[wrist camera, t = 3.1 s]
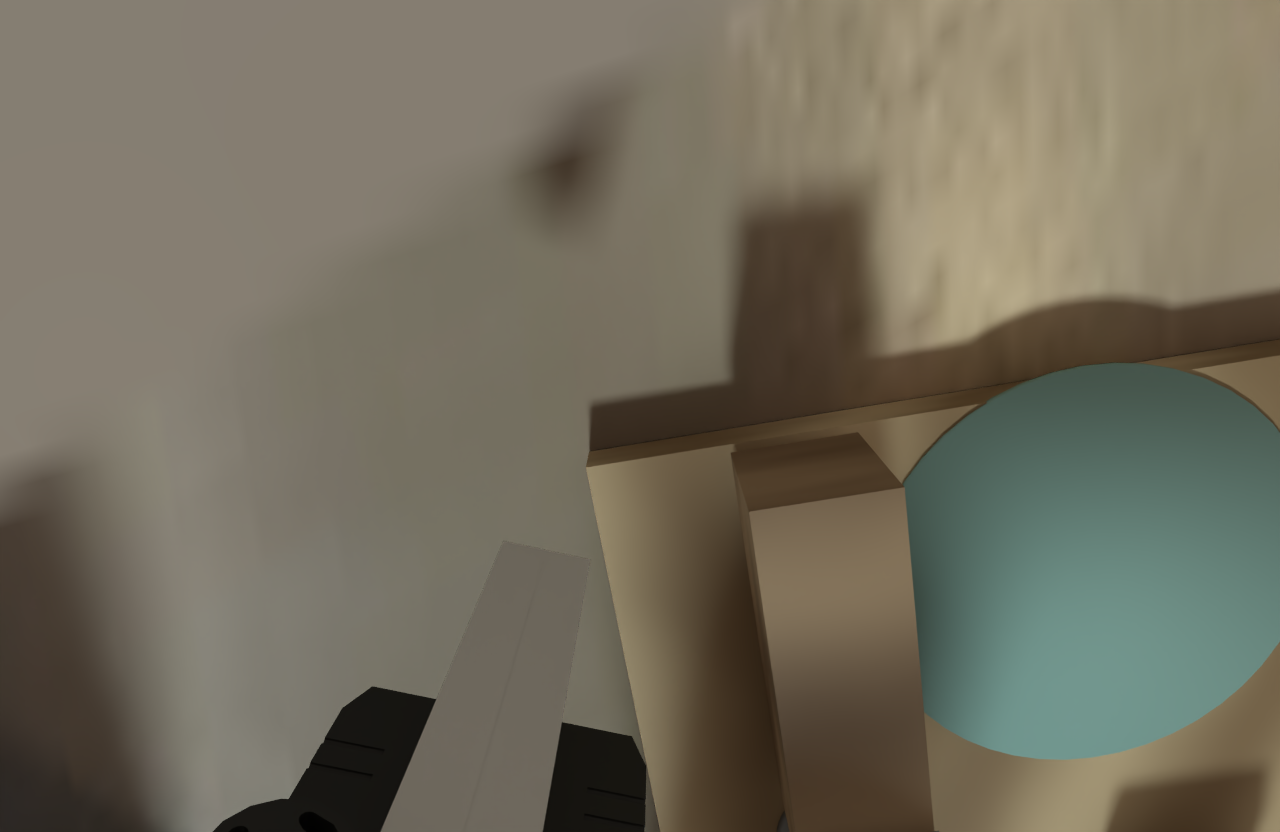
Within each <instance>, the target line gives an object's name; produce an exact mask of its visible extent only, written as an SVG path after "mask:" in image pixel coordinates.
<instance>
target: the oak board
mask: <svg viewBox="0 0 1280 832" xmlns="http://www.w3.org/2000/svg"><path fill="white" fill-rule="evenodd" d="M1137 363H1144V364H1150V365H1156V366H1162V367H1169V368H1174V369H1177V370H1180V371H1183V372H1186V373H1190V374H1193V375H1196V376H1200V377H1203V378H1206V379H1208V380H1210V381H1212V382H1214V383H1216V384H1218V385H1220V386H1223V387H1225V388H1227V389H1229V390H1231V391H1233V392H1234V393H1236V394H1237V395H1238V396H1240V397H1241V398H1243V399H1244V400H1246V401H1247V402H1249V403H1250V404H1252V405H1253V406H1255V407H1256V408H1257V409H1258V410H1259V411H1260V412H1261V413H1262V414H1263V415H1264V416H1265V417H1266V418H1267V419H1268V420H1269V421H1271V422H1272V423H1273V424H1274V426H1275V427H1276V428H1277V430H1278V431H1279V432H1280V339H1278V340H1272V341H1266V342H1260V343H1254V344H1248V345H1241V346H1235V347H1229V348H1223V349H1217V350H1211V351H1205V352H1198V353H1192V354H1186V355H1180V356H1174V357H1168V358H1162V359H1155V360H1149V361H1143V362H1137ZM1026 381H1029V380H1026ZM1026 381H1020V382H1014V383H1008V384H1002V385H996V386H990V387H983V388H977V389H971V390H965V391H959V392H953V393H947V394H940V395H934V396H928V397H922V398H916V399H910V400H904V401H897V402H891V403H885V404H879V405H873V406H867V407H861V408H854V409H848V410H842V411H836V412H830V413H824V414H818V415H811V416H805V417H799V418H793V419H787V420H781V421H775V422H768V423H762V424H756V425H750V426H744V427H738V428H732V429H725V430H719V431H713V432H707V433H701V434H695V435H689V436H682V437H676V438H670V439H664V440H658V441H652V442H645V443H639V444H633V445H627V446H621V447H615V448H609V449H602V450H596V451H590V452H589V455H588V460H587V465H586V470H587V475H588V480H589V485H590V490H591V494H592V499H593V504H594V509H595V514H596V519H597V524H598V529H599V534H600V539H601V543H602V548H603V553H604V558H605V563H606V568H607V573H608V578H609V583H610V588H611V592H612V597H613V602H614V607H615V612H616V617H617V622H618V627H619V632H620V637H621V641H622V646H623V651H624V656H625V661H626V666H627V671H628V676H629V681H630V686H631V690H632V695H633V700H634V705H635V710H636V715H637V720H638V725H639V730H640V735H641V739H642V744H643V749H644V754H645V759H646V764H647V769H648V774H649V779H650V784H651V788H652V793H653V798H654V803H655V808H656V813H657V818H658V823H659V828H660V832H789V827H788V823H787V818H786V814H785V809H784V805H783V800H782V794H781V788H780V781H779V774H778V767H777V761H776V754H775V747H774V741H773V734H772V727H771V721H770V714H769V707H768V701H767V694H766V687H765V681H764V674H763V667H762V661H761V654H760V647H759V641H758V634H757V627H756V620H755V614H754V607H753V600H752V594H751V587H750V580H749V574H748V567H747V560H746V554H745V547H744V540H743V534H742V527H741V520H740V514H739V507H738V500H737V493H736V487H735V480H734V473H733V467H732V460H731V453H732V452H738V451H744V450H750V449H757V448H763V447H769V446H775V445H781V444H788V443H794V442H800V441H806V440H812V439H819V438H825V437H831V436H837V435H843V434H850V433H856V432H858V433H859V434H860V435H861V436H862V437H863V439H864V440H865V441H866V442H867V443H868V445H869V446H870V447H871V448H872V449H873V450H874V452H875V453H876V454H877V455H878V456H879V458H880V459H881V460H882V461H883V462H884V464H885V465H886V466H887V467H888V468H889V469H890V471H891V472H892V473H893V474H894V475H895V477H896V478H897V479H898V480H899V481H900V482H901V484H903V483H904V481H905V479H906V478H907V477H908V475H909V474H910V473H911V471H912V470H913V469H914V468H915V466H916V465H917V464H918V462H919V461H920V460H921V458H922V457H923V456H924V455H925V454H926V453H927V452H928V451H929V450H930V449H931V448H932V447H933V445H934V444H935V443H936V442H937V441H938V440H939V439H940V438H941V437H942V436H943V435H944V434H945V433H947V432H948V431H949V430H950V429H952V428H953V427H954V426H955V425H956V424H958V423H959V422H960V421H961V420H963V419H964V418H965V417H966V416H967V415H969V414H970V413H972V412H974V411H975V410H977V409H978V408H980V407H981V406H983V405H984V404H986V403H987V402H986V401H987V400H989V399H990V398H992V397H994V396H996V395H998V394H1000V393H1002V392H1004V391H1006V390H1008V389H1010V388H1012V387H1014V386H1016V385H1018V384H1020V383H1023V382H1026ZM924 718H925V729H926V741H927V753H928V764H929V776H930V787H931V799H932V810H933V822H934V831H939V832H1280V642H1279V643H1278V645H1277V646H1276V647H1275V649H1274V650H1273V651H1272V653H1271V654H1270V655H1269V657H1268V658H1267V659H1266V660H1265V662H1264V663H1263V664H1262V666H1261V667H1260V668H1259V669H1258V670H1257V671H1256V672H1255V673H1254V674H1253V675H1252V676H1251V677H1250V678H1249V679H1248V680H1247V681H1246V682H1245V684H1244V685H1243V686H1242V687H1240V688H1239V689H1238V690H1237V691H1236V692H1234V693H1233V694H1232V695H1231V696H1230V697H1229V698H1227V699H1226V700H1225V701H1224V702H1223V703H1221V704H1220V705H1219V706H1217V707H1216V708H1214V709H1213V710H1211V711H1210V712H1208V713H1207V714H1205V715H1204V716H1203V717H1201V718H1200V719H1198V720H1197V721H1195V722H1193V723H1191V724H1189V725H1187V726H1185V727H1184V728H1182V729H1180V730H1178V731H1176V732H1174V733H1172V734H1170V735H1168V736H1165V737H1163V738H1160V739H1158V740H1156V741H1153V742H1151V743H1148V744H1146V745H1142V746H1139V747H1136V748H1132V749H1129V750H1126V751H1122V752H1119V753H1114V754H1108V755H1103V756H1098V757H1092V758H1080V759H1069V760H1057V759H1036V758H1028V757H1021V756H1014V755H1010V754H1006V753H1002V752H999V751H995V750H991V749H988V748H985V747H983V746H980V745H978V744H975V743H973V742H970V741H968V740H966V739H964V738H962V737H960V736H958V735H957V734H955V733H953V732H951V731H949V730H948V729H946V728H944V727H943V726H942V725H940V724H939V723H938V722H936V721H935V720H934V719H932V718H931V717H930V716H928V715H927V714H926V713H925V712H924Z"/></svg>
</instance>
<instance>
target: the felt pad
mask: <svg viewBox="0 0 1280 832" xmlns="http://www.w3.org/2000/svg"><path fill="white" fill-rule="evenodd" d="M986 402H987V403H986V404H984V405H983V406H981V407H980V408H978V409H977V410H975V411H974V412H972V413H970V414H969V415H967V416H966V417H965V418H964V419H963V420H961V421H960V422H959V423H958V424H956V425H955V426H954V427H953V428H952V429H950V430H949V431H948V432H947V433H945V434H944V435H943V436H942V437H941V438H940V439H939V440H938V441H937V442H936V443H935V444H934V445H933V447H932V448H931V449H930V450H929V451H928V452H927V453H926V454H925V455H924V456H923V457H922V458H921V460H920V461H919V462H918V464H917V465H916V466H915V468H914V469H913V470H912V471H911V473H910V474H909V475H908V477H907V478H906V479H905V481H904V483H903V484H902V485H903V486H904V487H905V498H906V509H907V521H908V532H909V544H910V556H911V567H912V579H913V590H914V602H915V614H916V625H917V637H918V648H919V660H920V671H921V683H922V695H923V706H924V712H925V713H926V714H927V715H928V716H930V717H931V718H932V719H934V720H935V721H936V722H938V723H939V724H940V725H942V726H943V727H944V728H946V729H948V730H949V731H951V732H953V733H955V734H957V735H958V736H960V737H962V738H964V739H966V740H968V741H970V742H973V743H975V744H978V745H980V746H983V747H985V748H988V749H991V750H995V751H999V752H1002V753H1006V754H1010V755H1014V756H1021V757H1028V758H1036V759H1057V760H1069V759H1080V758H1092V757H1098V756H1103V755H1108V754H1114V753H1119V752H1122V751H1126V750H1129V749H1132V748H1136V747H1139V746H1142V745H1146V744H1148V743H1151V742H1153V741H1156V740H1158V739H1160V738H1163V737H1165V736H1168V735H1170V734H1172V733H1174V732H1176V731H1178V730H1180V729H1182V728H1184V727H1185V726H1187V725H1189V724H1191V723H1193V722H1195V721H1197V720H1198V719H1200V718H1201V717H1203V716H1204V715H1205V714H1207V713H1208V712H1210V711H1211V710H1213V709H1214V708H1216V707H1217V706H1219V705H1220V704H1221V703H1223V702H1224V701H1225V700H1226V699H1227V698H1229V697H1230V696H1231V695H1232V694H1233V693H1234V692H1236V691H1237V690H1238V689H1239V688H1240V687H1242V686H1243V685H1244V684H1245V682H1246V681H1247V680H1248V679H1249V678H1250V677H1251V676H1252V675H1253V674H1254V673H1255V672H1256V671H1257V670H1258V669H1259V668H1260V667H1261V666H1262V664H1263V663H1264V662H1265V660H1266V659H1267V658H1268V657H1269V655H1270V654H1271V653H1272V651H1273V650H1274V649H1275V647H1276V646H1277V645H1278V643H1279V642H1280V432H1279V431H1278V430H1277V428H1276V427H1275V426H1274V424H1273V423H1272V422H1271V421H1269V420H1268V419H1267V418H1266V417H1265V416H1264V415H1263V414H1262V413H1261V412H1260V411H1259V410H1258V409H1257V408H1256V407H1255V406H1253V405H1252V404H1250V403H1249V402H1247V401H1246V400H1244V399H1243V398H1241V397H1240V396H1238V395H1237V394H1236V393H1234V392H1233V391H1231V390H1229V389H1227V388H1225V387H1223V386H1220V385H1218V384H1216V383H1214V382H1212V381H1210V380H1208V379H1206V378H1203V377H1200V376H1196V375H1193V374H1190V373H1186V372H1183V371H1180V370H1177V369H1174V368H1169V367H1162V366H1156V365H1150V364H1144V363H1104V364H1094V365H1084V366H1078V367H1074V368H1069V369H1065V370H1060V371H1056V372H1052V373H1048V374H1046V375H1043V376H1040V377H1037V378H1034V379H1031V380H1029V381H1026V382H1023V383H1020V384H1018V385H1016V386H1014V387H1012V388H1010V389H1008V390H1006V391H1004V392H1002V393H1000V394H998V395H996V396H994V397H992V398H990V399H989V400H987V401H986Z"/></svg>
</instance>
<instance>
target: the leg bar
mask: <svg viewBox="0 0 1280 832" xmlns="http://www.w3.org/2000/svg"><path fill="white" fill-rule="evenodd" d="M731 460H732V467H733V473H734V480H735V487H736V493H737V500H738V507H739V514H740V520H741V527H742V534H743V540H744V547H745V554H746V560H747V567H748V574H749V580H750V587H751V594H752V600H753V607H754V614H755V620H756V627H757V634H758V641H759V647H760V654H761V661H762V667H763V674H764V681H765V687H766V694H767V701H768V707H769V714H770V721H771V727H772V734H773V741H774V747H775V754H776V761H777V767H778V774H779V781H780V788H781V794H782V800H783V805H784V809H785V814H786V818H787V823H788V827H789V832H939V831H934V822H933V810H932V799H931V787H930V776H929V764H928V753H927V741H926V729H925V718H924V706H923V695H922V683H921V671H920V660H919V648H918V637H917V625H916V614H915V602H914V590H913V579H912V567H911V556H910V544H909V532H908V521H907V509H906V498H905V487H904V486H903V485H902V484H901V482H900V481H899V480H898V479H897V478H896V477H895V475H894V474H893V473H892V472H891V471H890V469H889V468H888V467H887V466H886V465H885V464H884V462H883V461H882V460H881V459H880V458H879V456H878V455H877V454H876V453H875V452H874V450H873V449H872V448H871V447H870V446H869V445H868V443H867V442H866V441H865V440H864V439H863V437H862V436H861V435H860V434H859V433H858V432H856V433H850V434H843V435H837V436H831V437H825V438H819V439H812V440H806V441H800V442H794V443H788V444H781V445H775V446H769V447H763V448H757V449H750V450H744V451H738V452H732V453H731Z"/></svg>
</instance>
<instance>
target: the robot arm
mask: <svg viewBox="0 0 1280 832" xmlns="http://www.w3.org/2000/svg"><path fill="white" fill-rule="evenodd" d="M589 564H590V559H587V558H582V557H578V556H573V555H568V554H564V553H559V552H554V551H549V550H545V549H540V548H535V547H531V546H526V545H521V544H517V543H512V542H507V541H503V542H502V545H501V547H500V550H499V552H498V554H497V557H496V559H495V561H494V564H493V566H492V568H491V571H490V573H489V576H488V578H487V580H486V583H485V585H484V587H483V590H482V592H481V595H480V597H479V599H478V602H477V604H476V606H475V609H474V611H473V614H472V616H471V618H470V621H469V623H468V625H467V628H466V630H465V633H464V635H463V637H462V640H461V642H460V644H459V647H458V649H457V652H456V654H455V656H454V659H453V661H452V663H451V666H450V668H449V671H448V673H447V675H446V678H445V680H444V682H443V685H442V687H441V690H440V692H439V694H438V697H437V699H432V698H427V697H422V696H417V695H412V694H407V693H402V692H397V691H393V690H388V689H383V688H378V687H373V686H372V687H371V688H370V689H368V690H367V691H366V692H364V693H363V694H361V695H360V696H359V697H357V698H356V699H354V700H353V701H352V702H350V703H349V704H347V705H346V706H345V707H343V708H342V710H341V711H340V713H339V715H338V716H337V718H336V720H335V722H334V723H333V725H332V727H331V728H330V730H329V732H328V733H327V735H326V737H325V740H324V743H322V744H321V745H320V747H319V749H318V750H317V752H316V754H315V755H314V757H313V759H312V761H311V763H310V766H309V768H307V769H306V771H305V772H304V774H303V776H302V777H301V779H300V781H299V783H298V784H297V786H296V788H295V789H294V791H293V793H292V794H291V796H290V798H289V799H278V800H274V801H270V802H266V803H261V804H257V805H253V806H250V807H248V808H246V809H244V810H243V811H241V812H239V813H237V814H235V815H233V816H232V817H230V818H228V819H226V820H224V821H223V822H222V823H221V824H220V825H219V826H218V827H217V828H216V829H215V830H214V831H213V832H644V828H645V799H646V765H645V763H644V761H643V759H642V757H641V755H640V753H639V751H638V749H637V746H636V744H635V742H634V740H633V738H632V736H627V735H622V734H617V733H612V732H607V731H602V730H598V729H593V728H588V727H583V726H578V725H573V724H568V723H563V722H562V718H563V712H564V707H565V701H566V695H567V689H568V684H569V678H570V672H571V667H572V661H573V655H574V649H575V644H576V638H577V632H578V627H579V621H580V615H581V609H582V604H583V598H584V592H585V587H586V581H587V575H588V569H589Z"/></svg>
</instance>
